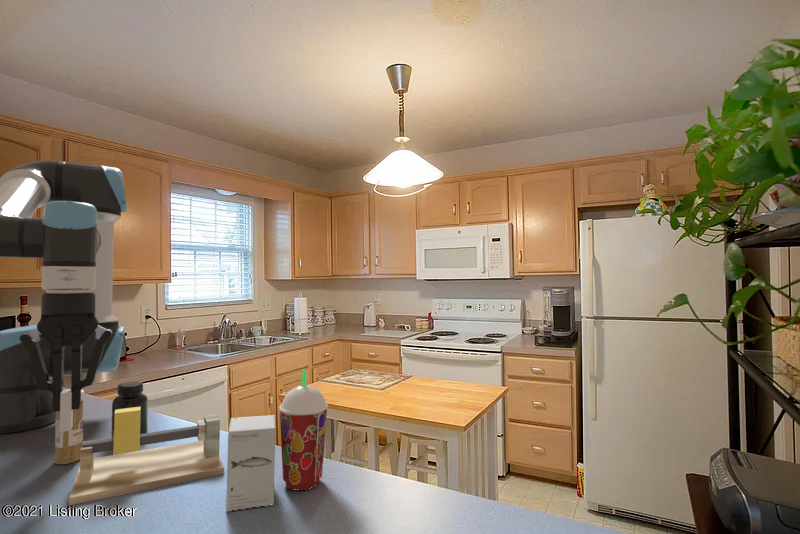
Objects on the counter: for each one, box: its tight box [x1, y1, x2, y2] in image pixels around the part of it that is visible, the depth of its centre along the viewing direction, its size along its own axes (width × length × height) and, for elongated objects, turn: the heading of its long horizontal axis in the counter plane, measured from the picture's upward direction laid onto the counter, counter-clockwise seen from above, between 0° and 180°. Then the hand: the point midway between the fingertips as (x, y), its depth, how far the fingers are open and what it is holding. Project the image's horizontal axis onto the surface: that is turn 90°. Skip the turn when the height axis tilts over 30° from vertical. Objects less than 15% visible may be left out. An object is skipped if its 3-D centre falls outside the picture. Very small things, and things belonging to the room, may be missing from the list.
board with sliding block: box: [68, 413, 225, 506], centre depth 83 cm, size 16×23×8 cm
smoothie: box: [278, 369, 329, 491], centre depth 79 cm, size 8×8×20 cm
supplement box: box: [225, 414, 277, 513], centre depth 73 cm, size 7×7×13 cm
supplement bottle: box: [110, 381, 149, 438], centre depth 99 cm, size 7×7×12 cm
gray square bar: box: [83, 425, 198, 454], centre depth 83 cm, size 2×21×2 cm, turn 120°
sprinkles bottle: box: [54, 389, 85, 465], centre depth 87 cm, size 5×5×14 cm
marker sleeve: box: [112, 407, 141, 455], centre depth 81 cm, size 4×4×7 cm
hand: (66, 428), depth 76 cm, fingers closed
